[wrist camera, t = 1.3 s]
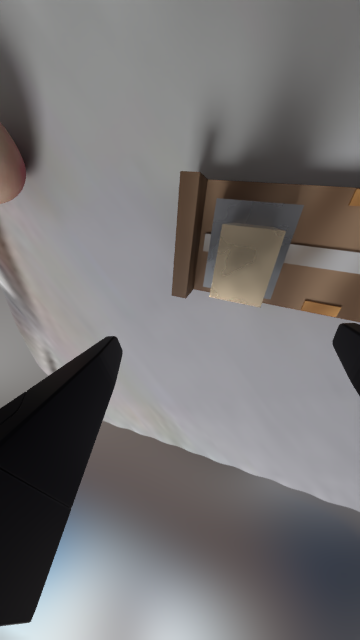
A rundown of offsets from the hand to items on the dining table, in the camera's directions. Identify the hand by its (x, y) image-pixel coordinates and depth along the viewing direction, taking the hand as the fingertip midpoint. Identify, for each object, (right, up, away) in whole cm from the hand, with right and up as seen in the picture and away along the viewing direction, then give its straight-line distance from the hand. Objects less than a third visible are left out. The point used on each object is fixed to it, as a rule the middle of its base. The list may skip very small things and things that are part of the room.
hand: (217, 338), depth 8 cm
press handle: (+4, +7, +9) cm, 13 cm away
